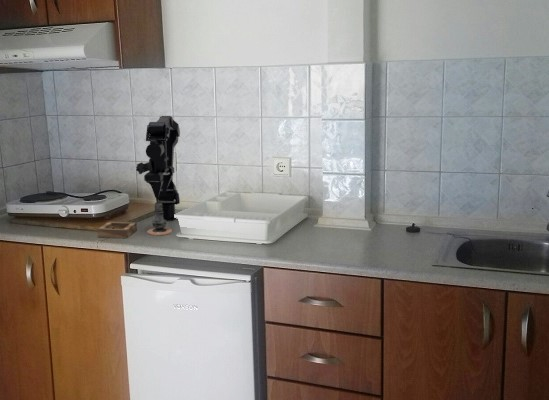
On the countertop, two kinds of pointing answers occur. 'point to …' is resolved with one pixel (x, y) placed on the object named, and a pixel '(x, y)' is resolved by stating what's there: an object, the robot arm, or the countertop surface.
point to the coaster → (159, 232)
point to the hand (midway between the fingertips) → (160, 195)
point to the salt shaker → (159, 218)
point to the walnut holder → (117, 229)
